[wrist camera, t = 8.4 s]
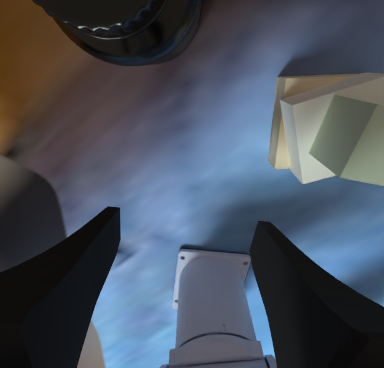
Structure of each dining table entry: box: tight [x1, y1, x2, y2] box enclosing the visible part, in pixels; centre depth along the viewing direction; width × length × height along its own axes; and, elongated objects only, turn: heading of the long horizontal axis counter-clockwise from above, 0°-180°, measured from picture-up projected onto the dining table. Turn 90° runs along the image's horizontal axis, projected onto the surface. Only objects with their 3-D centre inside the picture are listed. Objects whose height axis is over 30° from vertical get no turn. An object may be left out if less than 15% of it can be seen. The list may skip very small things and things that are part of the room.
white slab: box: [280, 72, 384, 184], centre depth 18 cm, size 6×6×2 cm
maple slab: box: [268, 73, 361, 169], centre depth 20 cm, size 7×7×2 cm
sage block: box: [309, 95, 384, 186], centre depth 15 cm, size 4×4×4 cm
